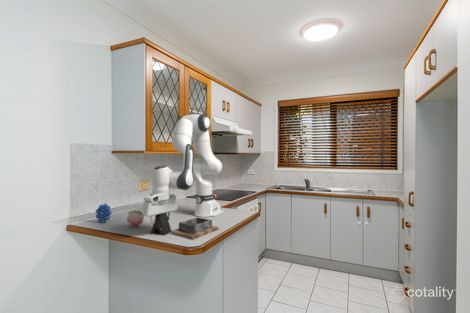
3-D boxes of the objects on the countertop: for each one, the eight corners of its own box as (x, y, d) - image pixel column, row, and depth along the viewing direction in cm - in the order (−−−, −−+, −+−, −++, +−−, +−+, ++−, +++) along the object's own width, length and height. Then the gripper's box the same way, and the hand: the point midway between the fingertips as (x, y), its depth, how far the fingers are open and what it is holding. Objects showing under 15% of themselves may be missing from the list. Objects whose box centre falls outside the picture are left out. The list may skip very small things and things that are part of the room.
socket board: (197, 224, 145) (197, 215, 145) (218, 229, 136) (218, 219, 136) (171, 233, 129) (171, 223, 129) (193, 239, 120) (193, 228, 120)
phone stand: (171, 231, 132) (171, 209, 132) (164, 235, 127) (164, 212, 127) (157, 230, 135) (157, 208, 135) (150, 233, 130) (150, 211, 130)
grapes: (116, 221, 153) (116, 202, 153) (108, 224, 147) (107, 204, 147) (101, 220, 157) (101, 201, 157) (92, 223, 150) (92, 203, 150)
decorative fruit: (146, 224, 147) (146, 207, 147) (141, 228, 139) (141, 210, 139) (130, 224, 147) (130, 207, 147) (124, 228, 139) (124, 211, 139)
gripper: (172, 193, 141) (172, 217, 141) (140, 197, 124) (140, 224, 124) (179, 194, 137) (179, 218, 137) (148, 199, 121) (148, 226, 121)
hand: (160, 221), depth 131 cm, fingers open, 8 cm apart
